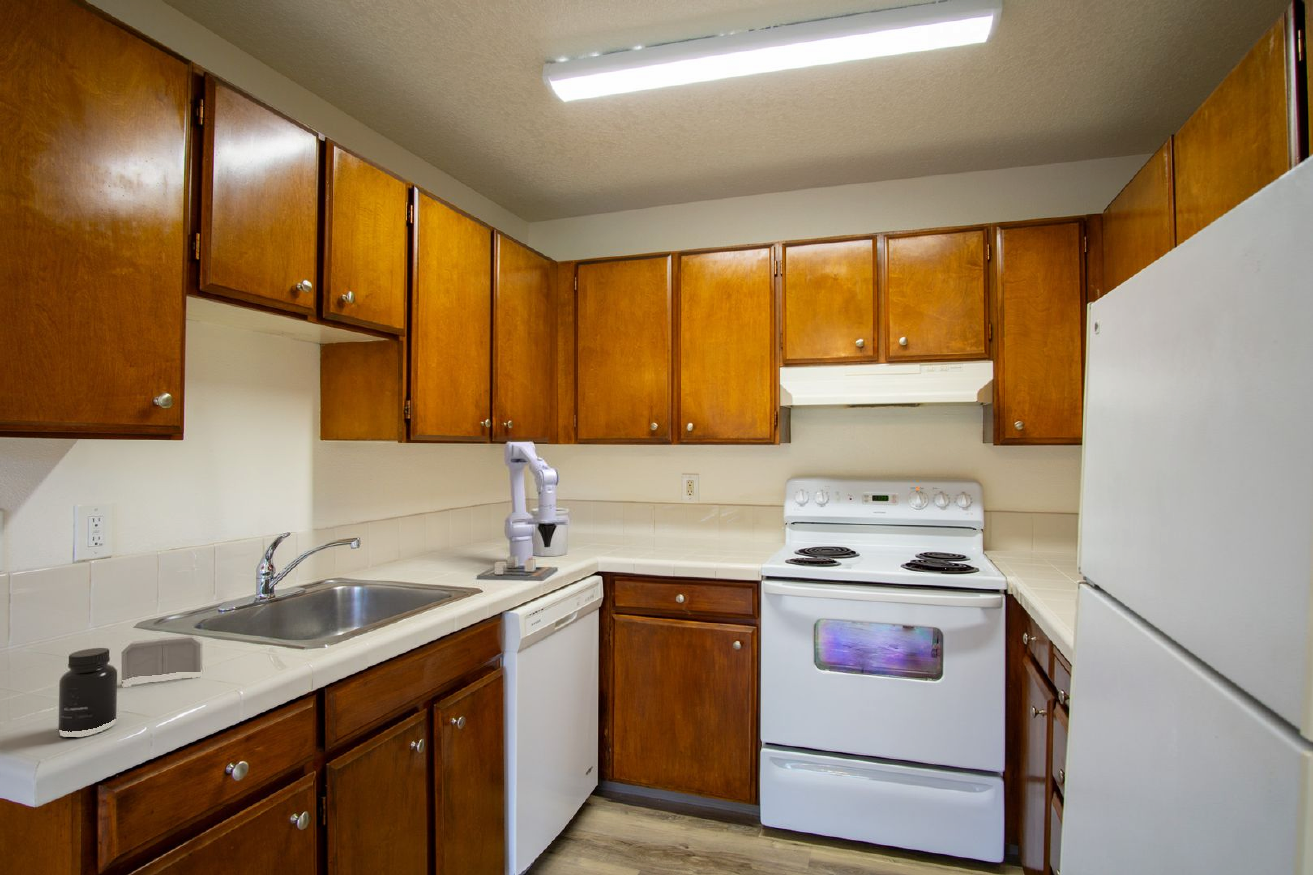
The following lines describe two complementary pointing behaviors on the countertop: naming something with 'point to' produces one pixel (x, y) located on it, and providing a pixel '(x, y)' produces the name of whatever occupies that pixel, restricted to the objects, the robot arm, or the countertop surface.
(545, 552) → the utensil holder
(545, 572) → the breaker panel
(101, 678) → the supplement bottle
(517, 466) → the robot arm
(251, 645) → the countertop surface
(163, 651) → the light switch
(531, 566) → the block
